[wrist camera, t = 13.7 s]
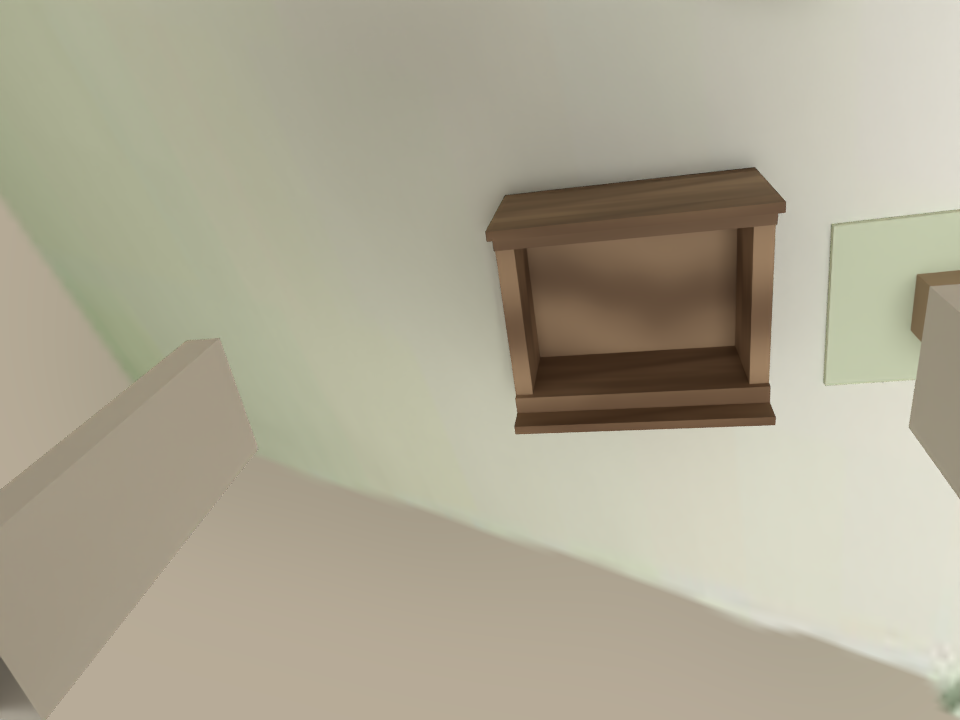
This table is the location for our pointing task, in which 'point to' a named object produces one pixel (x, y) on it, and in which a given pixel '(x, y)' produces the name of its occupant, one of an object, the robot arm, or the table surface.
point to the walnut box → (640, 302)
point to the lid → (885, 293)
